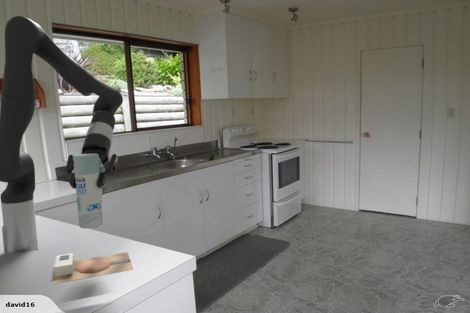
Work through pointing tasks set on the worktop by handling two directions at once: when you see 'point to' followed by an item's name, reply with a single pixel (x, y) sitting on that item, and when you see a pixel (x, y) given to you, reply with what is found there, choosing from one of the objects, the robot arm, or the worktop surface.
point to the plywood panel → (97, 267)
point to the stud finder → (64, 264)
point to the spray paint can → (88, 190)
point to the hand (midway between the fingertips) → (86, 186)
